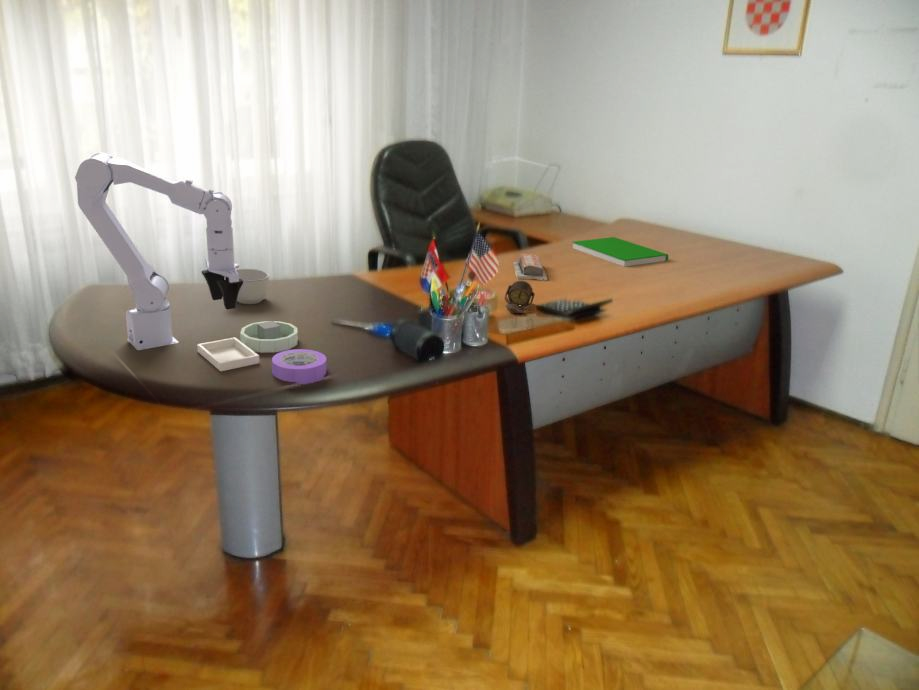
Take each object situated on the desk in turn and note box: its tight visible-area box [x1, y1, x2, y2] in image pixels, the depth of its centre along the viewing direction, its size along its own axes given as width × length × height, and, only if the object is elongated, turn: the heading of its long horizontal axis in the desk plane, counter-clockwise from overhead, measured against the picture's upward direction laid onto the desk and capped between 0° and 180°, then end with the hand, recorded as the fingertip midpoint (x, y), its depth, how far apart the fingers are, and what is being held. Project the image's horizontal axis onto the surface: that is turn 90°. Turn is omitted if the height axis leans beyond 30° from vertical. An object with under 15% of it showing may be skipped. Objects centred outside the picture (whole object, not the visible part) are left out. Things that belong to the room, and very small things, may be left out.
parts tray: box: [196, 336, 260, 372], centre depth 171 cm, size 9×13×2 cm
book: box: [572, 236, 669, 268], centre depth 284 cm, size 22×28×3 cm
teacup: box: [236, 267, 270, 305], centre depth 208 cm, size 14×11×8 cm
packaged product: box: [513, 253, 548, 281], centre depth 254 cm, size 18×5×10 cm
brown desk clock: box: [504, 280, 535, 314], centre depth 218 cm, size 7×13×10 cm
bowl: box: [239, 320, 299, 353], centre depth 181 cm, size 13×13×4 cm
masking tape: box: [271, 348, 328, 386], centre depth 166 cm, size 12×12×4 cm
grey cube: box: [257, 320, 281, 339], centre depth 180 cm, size 4×4×4 cm
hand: (223, 303), depth 178 cm, fingers open, 7 cm apart
